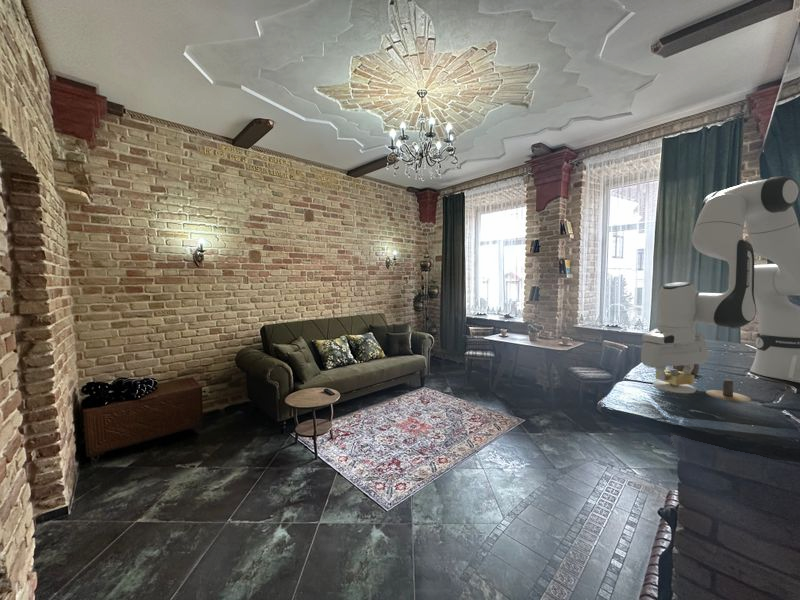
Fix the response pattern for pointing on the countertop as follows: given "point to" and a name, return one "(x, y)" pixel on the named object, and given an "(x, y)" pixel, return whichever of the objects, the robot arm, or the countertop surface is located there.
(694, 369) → the vase
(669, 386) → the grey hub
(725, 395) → the oak stand
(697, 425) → the countertop surface
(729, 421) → the countertop surface
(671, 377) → the yellow square frame
